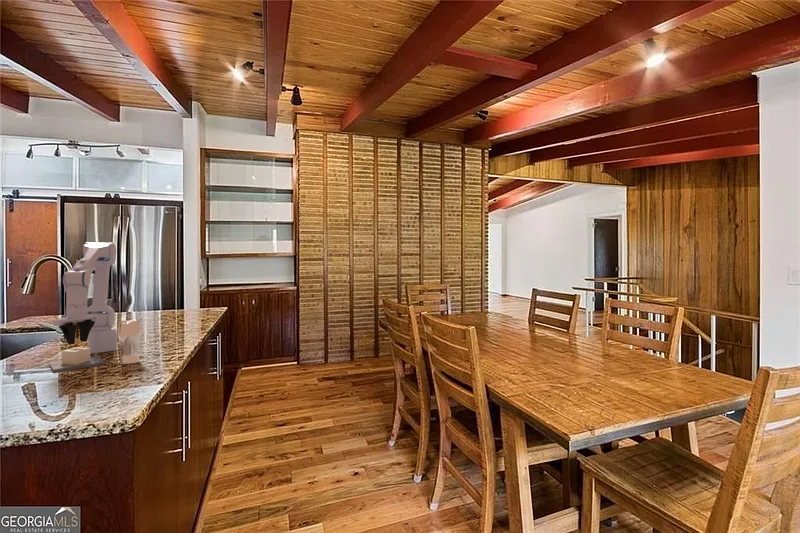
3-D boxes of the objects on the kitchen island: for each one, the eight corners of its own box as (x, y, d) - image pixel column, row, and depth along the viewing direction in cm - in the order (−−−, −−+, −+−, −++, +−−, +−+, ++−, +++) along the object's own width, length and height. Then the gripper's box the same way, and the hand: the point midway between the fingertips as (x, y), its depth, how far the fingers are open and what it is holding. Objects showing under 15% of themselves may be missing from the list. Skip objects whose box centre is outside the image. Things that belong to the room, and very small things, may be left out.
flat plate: (98, 358, 150) (98, 346, 150) (105, 364, 142) (105, 352, 142) (49, 365, 140) (49, 352, 140) (53, 372, 132) (53, 359, 132)
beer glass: (145, 360, 149) (145, 320, 148) (131, 365, 142) (131, 323, 141) (128, 359, 149) (128, 319, 149) (113, 364, 142) (112, 322, 142)
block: (77, 359, 144) (77, 347, 144) (90, 360, 143) (90, 348, 143) (61, 363, 139) (61, 350, 139) (75, 364, 138) (75, 351, 138)
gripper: (86, 301, 148) (87, 338, 149) (46, 306, 134) (46, 346, 134) (103, 302, 147) (103, 338, 147) (63, 307, 133) (64, 347, 133)
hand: (77, 342), depth 141 cm, fingers open, 4 cm apart
